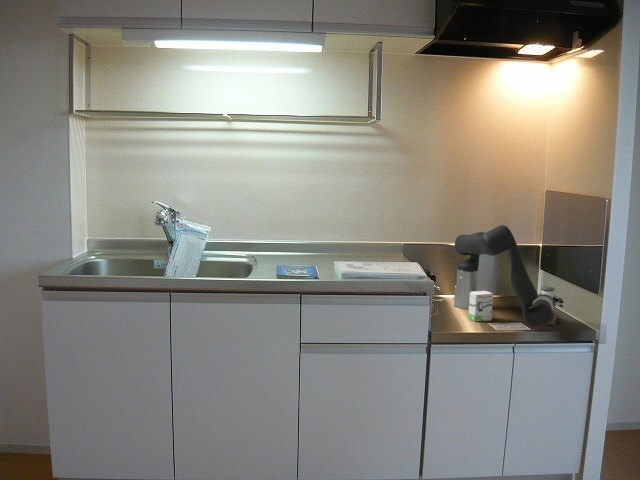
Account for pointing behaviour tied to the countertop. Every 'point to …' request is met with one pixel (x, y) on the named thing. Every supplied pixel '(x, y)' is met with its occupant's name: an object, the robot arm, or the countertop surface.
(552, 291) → the canister
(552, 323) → the tray
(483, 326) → the countertop surface
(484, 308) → the ink box
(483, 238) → the robot arm
